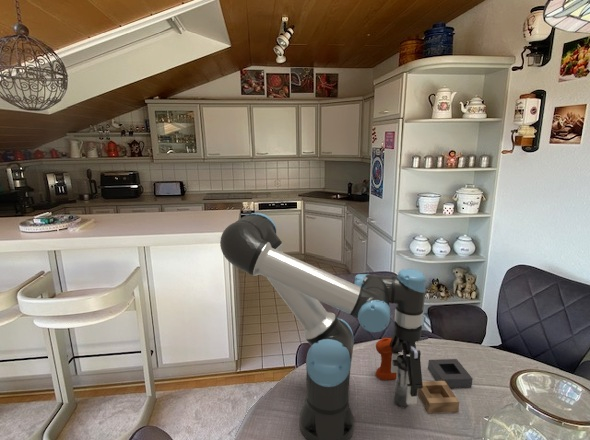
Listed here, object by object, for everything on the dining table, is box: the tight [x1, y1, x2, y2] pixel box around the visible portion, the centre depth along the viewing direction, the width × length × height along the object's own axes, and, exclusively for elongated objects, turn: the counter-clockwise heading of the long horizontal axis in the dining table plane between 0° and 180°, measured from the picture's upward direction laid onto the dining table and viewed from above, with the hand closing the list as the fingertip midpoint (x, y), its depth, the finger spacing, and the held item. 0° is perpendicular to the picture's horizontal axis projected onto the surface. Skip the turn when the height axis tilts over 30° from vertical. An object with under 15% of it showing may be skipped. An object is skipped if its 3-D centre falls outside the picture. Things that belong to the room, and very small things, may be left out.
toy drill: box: [375, 336, 429, 381], centre depth 114 cm, size 5×19×15 cm, turn 97°
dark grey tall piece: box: [392, 354, 409, 409], centre depth 102 cm, size 7×5×15 cm, turn 93°
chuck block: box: [427, 358, 474, 390], centre depth 114 cm, size 10×10×4 cm
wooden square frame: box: [417, 380, 460, 414], centre depth 104 cm, size 9×9×4 cm
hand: (402, 386), depth 102 cm, fingers open, 12 cm apart
